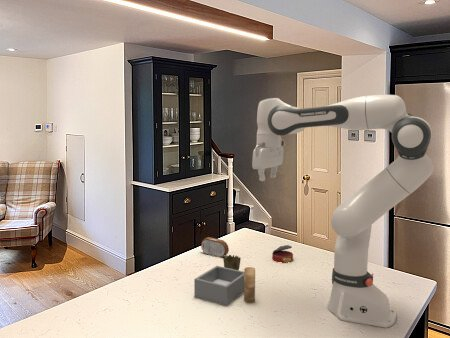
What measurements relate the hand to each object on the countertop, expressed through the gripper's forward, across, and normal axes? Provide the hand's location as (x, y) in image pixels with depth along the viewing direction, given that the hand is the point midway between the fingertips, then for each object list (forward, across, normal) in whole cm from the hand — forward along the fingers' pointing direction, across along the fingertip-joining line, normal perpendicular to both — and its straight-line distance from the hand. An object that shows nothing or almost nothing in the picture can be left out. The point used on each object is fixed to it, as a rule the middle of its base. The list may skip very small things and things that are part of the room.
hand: (267, 179), depth 146 cm
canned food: (+44, +37, +8) cm, 58 cm away
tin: (+44, +25, +39) cm, 64 cm away
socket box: (+44, -10, +14) cm, 47 cm away
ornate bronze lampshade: (+44, +7, +19) cm, 49 cm away
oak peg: (+44, -10, +2) cm, 45 cm away
